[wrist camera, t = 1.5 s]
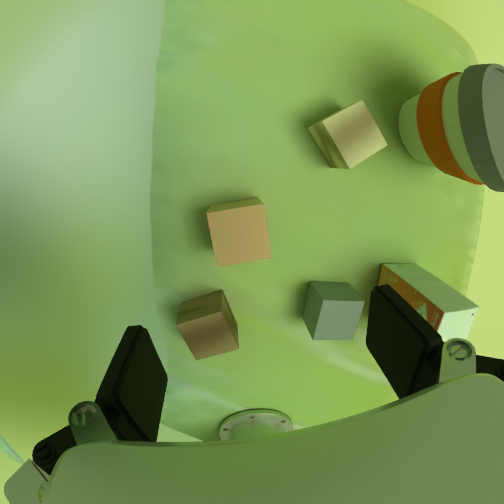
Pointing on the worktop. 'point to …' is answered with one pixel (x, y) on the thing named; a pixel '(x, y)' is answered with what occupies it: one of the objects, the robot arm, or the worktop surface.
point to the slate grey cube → (332, 310)
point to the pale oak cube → (348, 136)
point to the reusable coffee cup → (459, 125)
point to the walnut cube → (208, 325)
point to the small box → (431, 299)
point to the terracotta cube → (239, 231)
